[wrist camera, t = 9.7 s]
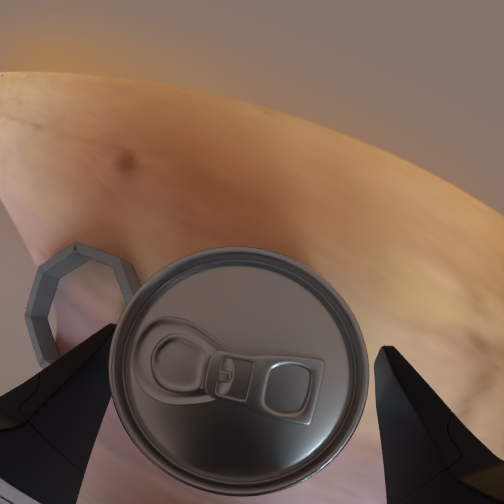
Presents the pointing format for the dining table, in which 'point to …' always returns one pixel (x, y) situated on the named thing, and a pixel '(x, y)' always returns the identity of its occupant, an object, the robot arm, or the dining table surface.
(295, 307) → the can
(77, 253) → the socket
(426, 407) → the robot arm
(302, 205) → the dining table surface
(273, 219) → the dining table surface
